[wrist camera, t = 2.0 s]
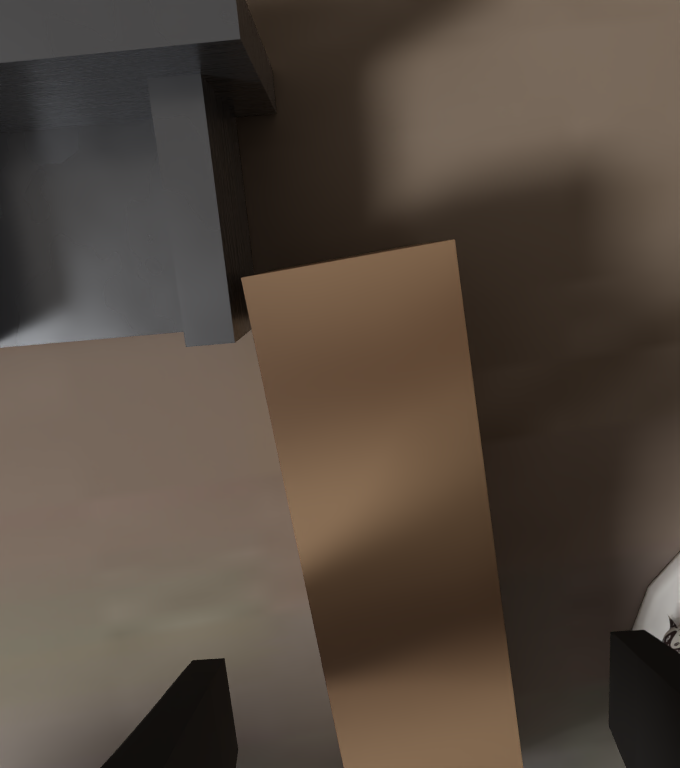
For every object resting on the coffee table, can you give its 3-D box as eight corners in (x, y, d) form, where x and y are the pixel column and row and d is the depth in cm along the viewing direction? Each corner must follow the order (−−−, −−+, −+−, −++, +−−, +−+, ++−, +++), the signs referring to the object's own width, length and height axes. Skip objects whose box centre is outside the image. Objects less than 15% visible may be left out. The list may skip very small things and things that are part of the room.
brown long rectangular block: (491, 756, 18) (545, 937, 14) (373, 773, 19) (383, 957, 14) (418, 243, 15) (454, 238, 10) (274, 269, 15) (240, 277, 10)
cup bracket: (297, 319, 15) (275, 350, 10) (-78, 351, 15) (-273, 397, 11) (271, 68, 14) (232, -33, 9) (-138, 108, 14) (-391, 31, 9)
